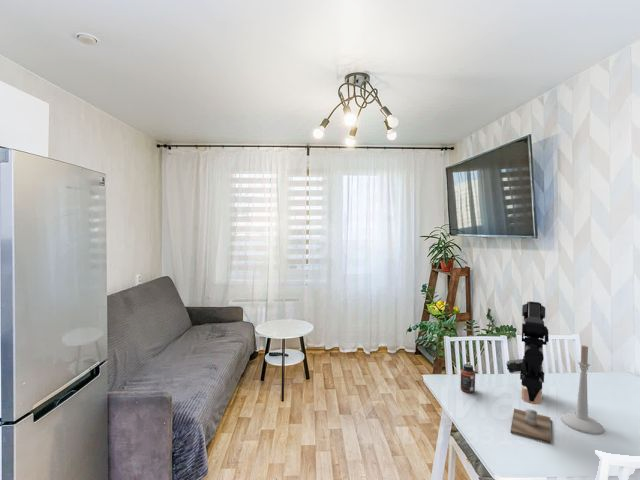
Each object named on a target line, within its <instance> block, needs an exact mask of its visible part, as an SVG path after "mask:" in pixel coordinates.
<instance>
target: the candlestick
mask: <svg viewBox="0 0 640 480" xmlns="http://www.w3.org/2000/svg"><path fill="white" fill-rule="evenodd" d="M588 355H589V346H588V345H584V344H582V345H581V349H580V361H578V365H579V369H580V372H579V375H580V376H579V382H578V384H579V385H578V394H577V402H576V412H568V413H567V412H566V413H564V414H562V415H561V416H560V420H561V423H563V424H564V425H565V426H567V427H568V428H570V429H572V430H575V431H577V432H580V433H584V434H589V435H600V434H603V433H604V430H605V428H604V426H603V425H602V424H601V422H599V421H597V420H596V419H595V418H593V417H591V416H589V408H588V405H589V404H588V401H589V400H588V372H587V371H588V370H589V367H590V366H591V364H589V363H588V362H589V361H588V360H589V359H588V358H589V356H588Z"/></svg>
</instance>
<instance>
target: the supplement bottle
mask: <svg viewBox="0 0 640 480" xmlns="http://www.w3.org/2000/svg"><path fill="white" fill-rule="evenodd" d="M460 390H461V391H463V392H465V393H467V394H468V393H470V394H472V393H474V392H475V390H476V371H475V370H474V365H473V364H471V363H464V364H463V367H462V369H461V371H460Z"/></svg>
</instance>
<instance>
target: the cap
mask: <svg viewBox="0 0 640 480" xmlns="http://www.w3.org/2000/svg"><path fill="white" fill-rule="evenodd" d="M521 386H522V387H521V400H523V402H525V403H528V404H531V405H542V399H543V397H542V396H543V391H542V390H543V388H542V389H541V390H540V391H539V393H538V395H537V396H536V398H535V400H534V401H533V402H532V401H530V400H529V395H528V390H527V387H526V386H523V385H521Z"/></svg>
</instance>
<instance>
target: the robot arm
mask: <svg viewBox="0 0 640 480" xmlns="http://www.w3.org/2000/svg"><path fill="white" fill-rule="evenodd" d="M521 310H522V311H521V317H523V323H522V325H521V342H524V346H523V347H524V349H523V350H524V351H523V356H522V357H523V358H521V359H519V358H518V359H517V358H516V359H512V360H507V361H506V364H505V365H506V368H507V370H508V373H509V374H510V373H511V374H513V373H516V372H519V373H520V375H519V376H520V377H519V380H521V386H526V387H527V390H528V395H529V400H530V401H532V402H533V401H534V400H535V398H536V396H537V395H538V393H539V391H540V390H541V389H542V390H543V384H544V383H545V372H544V369H543V368H544V367H543V362H544V352H543V351H544V349H543V347H544V346H547V343H549V329H548V327H547V325H546V326H545V321H544V319H546V307H545V306H543V305H542V303H541V302H539V301H527V302H526V303H525V304H523V305H522V309H521Z"/></svg>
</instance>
